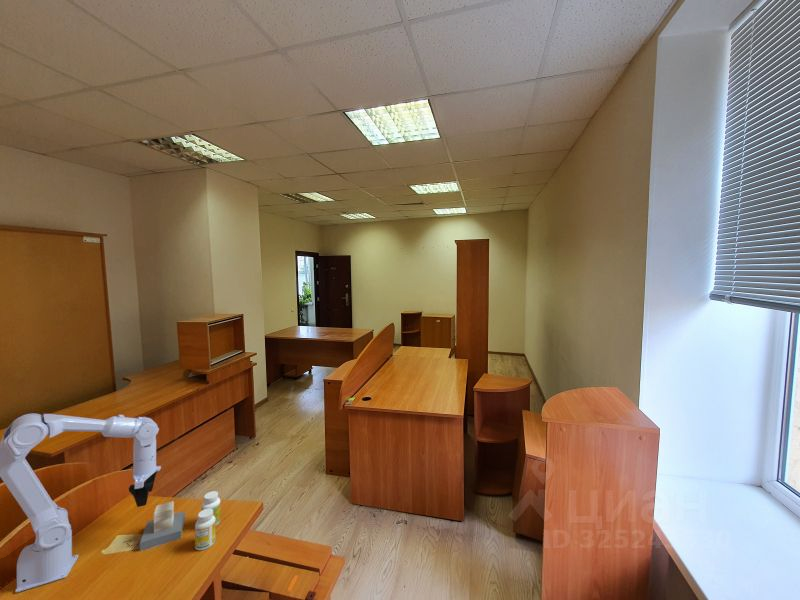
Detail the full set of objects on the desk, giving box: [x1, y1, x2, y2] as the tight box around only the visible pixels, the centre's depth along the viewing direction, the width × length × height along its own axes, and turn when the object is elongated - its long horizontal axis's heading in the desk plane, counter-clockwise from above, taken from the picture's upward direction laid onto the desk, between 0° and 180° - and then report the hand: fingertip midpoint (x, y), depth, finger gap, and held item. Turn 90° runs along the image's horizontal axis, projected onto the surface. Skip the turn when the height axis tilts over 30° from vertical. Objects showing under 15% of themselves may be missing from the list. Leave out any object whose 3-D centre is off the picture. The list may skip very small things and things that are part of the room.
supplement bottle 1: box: [201, 490, 221, 526], centre depth 103 cm, size 5×5×10 cm
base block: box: [139, 510, 186, 552], centre depth 98 cm, size 10×10×3 cm
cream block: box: [153, 500, 175, 533], centre depth 98 cm, size 4×4×6 cm
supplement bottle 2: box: [194, 508, 217, 551], centre depth 94 cm, size 5×5×10 cm
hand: (145, 498), depth 100 cm, fingers open, 7 cm apart
